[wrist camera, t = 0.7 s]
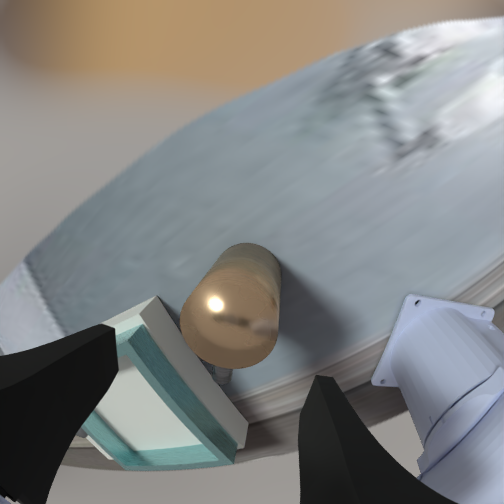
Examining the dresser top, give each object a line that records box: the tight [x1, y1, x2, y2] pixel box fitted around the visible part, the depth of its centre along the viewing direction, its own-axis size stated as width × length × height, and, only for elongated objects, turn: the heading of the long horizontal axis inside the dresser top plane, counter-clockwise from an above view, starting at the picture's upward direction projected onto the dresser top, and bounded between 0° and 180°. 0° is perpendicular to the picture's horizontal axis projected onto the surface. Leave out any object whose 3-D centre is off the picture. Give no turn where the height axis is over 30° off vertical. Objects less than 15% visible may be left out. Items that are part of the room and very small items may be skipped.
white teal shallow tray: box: [76, 296, 249, 459], centre depth 22 cm, size 18×14×4 cm
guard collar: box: [81, 324, 238, 471], centre depth 19 cm, size 13×13×2 cm
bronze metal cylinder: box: [180, 243, 281, 384], centre depth 16 cm, size 4×6×7 cm
